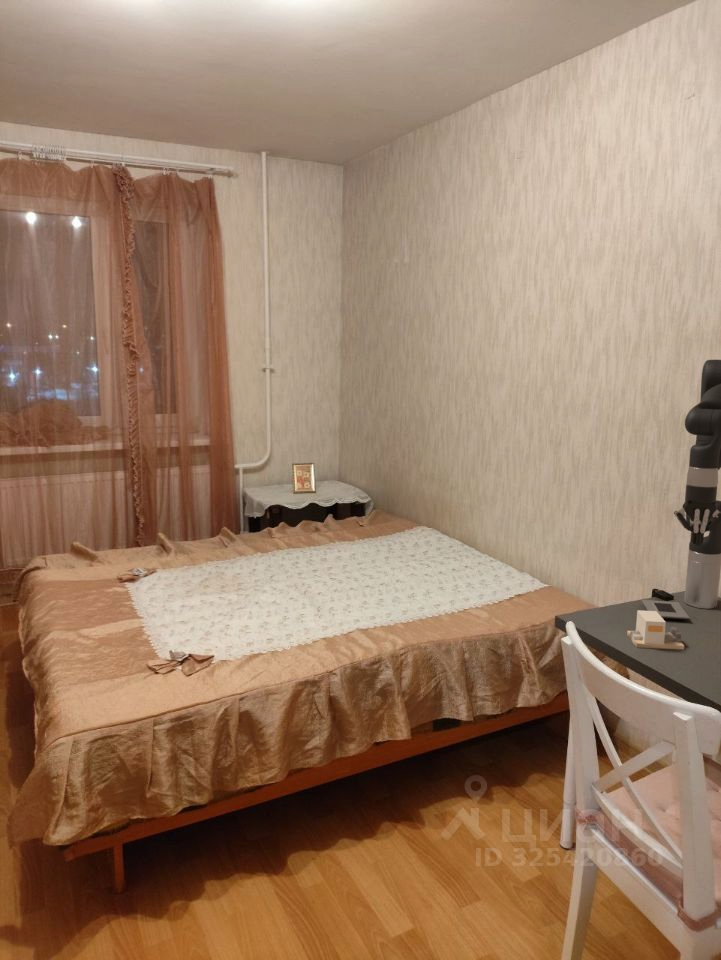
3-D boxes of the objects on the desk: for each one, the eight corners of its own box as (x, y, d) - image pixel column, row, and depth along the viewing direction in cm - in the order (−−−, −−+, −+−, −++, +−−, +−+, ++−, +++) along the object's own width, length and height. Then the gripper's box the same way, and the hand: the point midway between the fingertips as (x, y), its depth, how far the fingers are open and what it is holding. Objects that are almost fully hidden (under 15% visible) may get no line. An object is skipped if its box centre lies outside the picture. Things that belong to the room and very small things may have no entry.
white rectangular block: (664, 644, 178) (666, 622, 177) (644, 643, 179) (646, 621, 178) (654, 632, 186) (656, 611, 185) (635, 631, 187) (637, 610, 186)
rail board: (627, 634, 188) (628, 622, 187) (672, 636, 186) (673, 624, 186) (636, 647, 179) (637, 635, 178) (684, 649, 178) (685, 637, 177)
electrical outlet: (688, 624, 196) (689, 616, 195) (650, 621, 198) (650, 613, 198) (677, 608, 208) (678, 601, 208) (641, 606, 211) (641, 598, 210)
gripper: (721, 481, 185) (716, 542, 188) (671, 480, 186) (666, 541, 189) (733, 486, 178) (727, 550, 181) (681, 485, 179) (675, 548, 182)
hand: (696, 545), depth 185 cm, fingers closed
